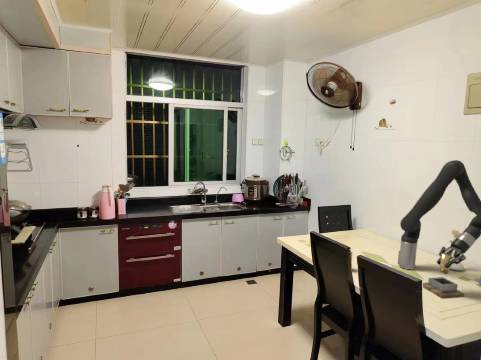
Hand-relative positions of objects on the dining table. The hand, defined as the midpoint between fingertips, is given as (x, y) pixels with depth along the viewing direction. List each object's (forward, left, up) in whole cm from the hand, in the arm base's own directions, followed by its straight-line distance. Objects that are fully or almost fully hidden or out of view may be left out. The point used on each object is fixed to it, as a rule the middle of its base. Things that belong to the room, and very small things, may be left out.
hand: (441, 265), depth 172 cm
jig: (0, +2, -15) cm, 15 cm away
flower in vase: (-27, +36, -15) cm, 47 cm away
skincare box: (-34, -36, -15) cm, 52 cm away
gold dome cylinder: (0, +2, -4) cm, 5 cm away
